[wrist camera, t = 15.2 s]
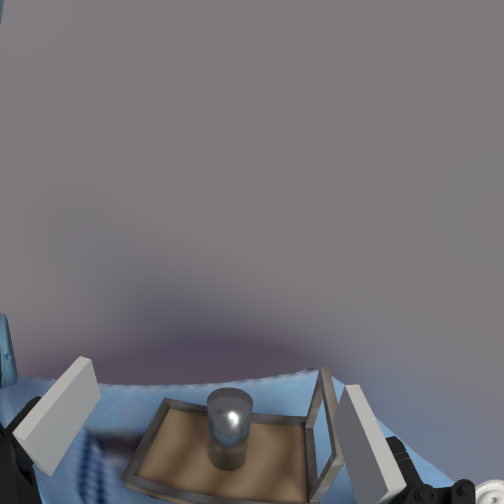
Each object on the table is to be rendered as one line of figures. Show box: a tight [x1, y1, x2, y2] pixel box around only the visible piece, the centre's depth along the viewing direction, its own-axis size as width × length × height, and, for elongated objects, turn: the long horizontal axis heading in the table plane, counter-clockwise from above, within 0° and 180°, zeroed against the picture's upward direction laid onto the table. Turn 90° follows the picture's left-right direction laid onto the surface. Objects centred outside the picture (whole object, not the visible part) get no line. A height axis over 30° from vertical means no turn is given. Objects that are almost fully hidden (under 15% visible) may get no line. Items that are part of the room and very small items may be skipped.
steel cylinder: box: [207, 388, 253, 471], centre depth 28 cm, size 5×5×12 cm
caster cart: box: [121, 367, 345, 504], centre depth 29 cm, size 24×18×19 cm
